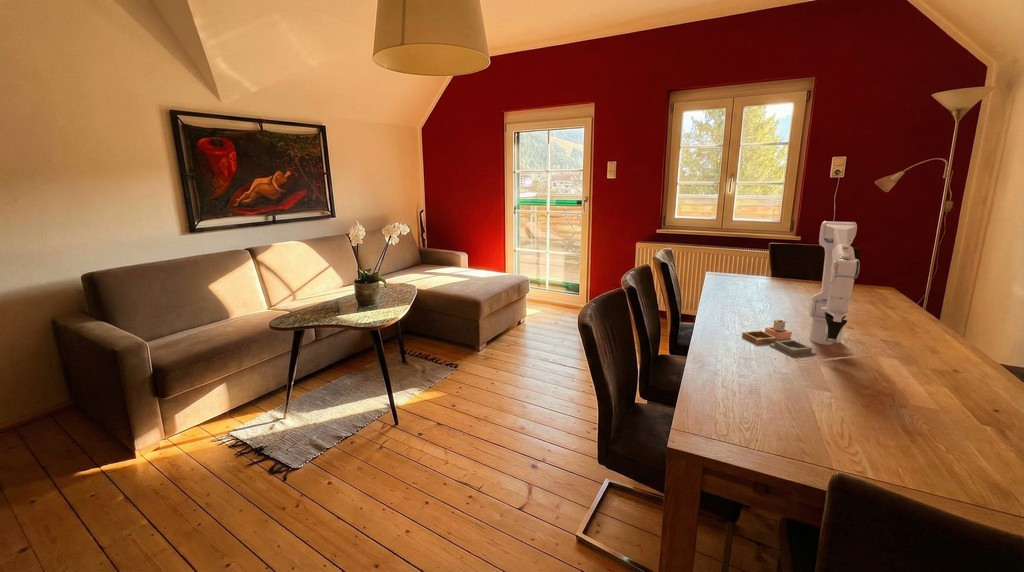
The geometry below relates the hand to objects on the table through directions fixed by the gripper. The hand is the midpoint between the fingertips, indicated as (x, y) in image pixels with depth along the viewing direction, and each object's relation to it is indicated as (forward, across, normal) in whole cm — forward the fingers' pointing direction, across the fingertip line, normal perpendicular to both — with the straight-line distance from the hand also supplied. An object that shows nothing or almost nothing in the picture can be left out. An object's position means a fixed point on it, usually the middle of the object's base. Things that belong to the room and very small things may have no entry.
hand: (831, 336), depth 141 cm
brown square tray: (+8, -6, -20) cm, 23 cm away
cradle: (+8, -1, -10) cm, 13 cm away
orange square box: (+8, -13, -15) cm, 22 cm away
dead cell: (+8, -13, -15) cm, 21 cm away
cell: (+2, 0, 0) cm, 2 cm away
